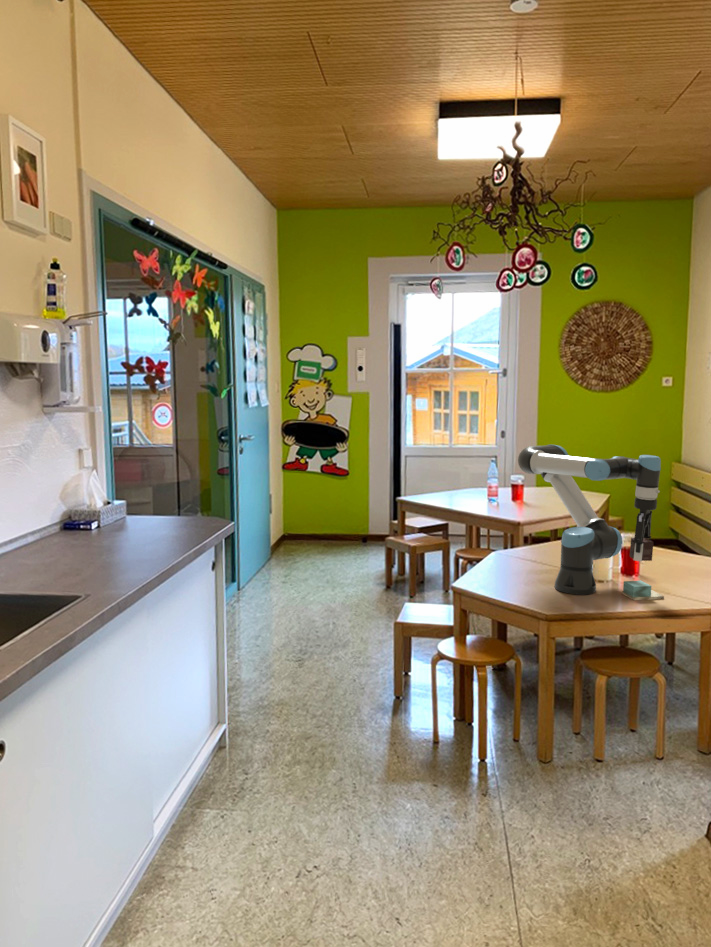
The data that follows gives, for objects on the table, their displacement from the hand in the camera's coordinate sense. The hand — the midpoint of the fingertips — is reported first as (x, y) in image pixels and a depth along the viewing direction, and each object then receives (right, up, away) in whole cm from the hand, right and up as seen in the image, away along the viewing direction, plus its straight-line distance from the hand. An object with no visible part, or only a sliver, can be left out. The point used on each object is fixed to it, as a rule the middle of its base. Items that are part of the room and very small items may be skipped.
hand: (640, 557), depth 263 cm
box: (0, -1, 0) cm, 1 cm away
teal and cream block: (+2, -15, +2) cm, 15 cm away
